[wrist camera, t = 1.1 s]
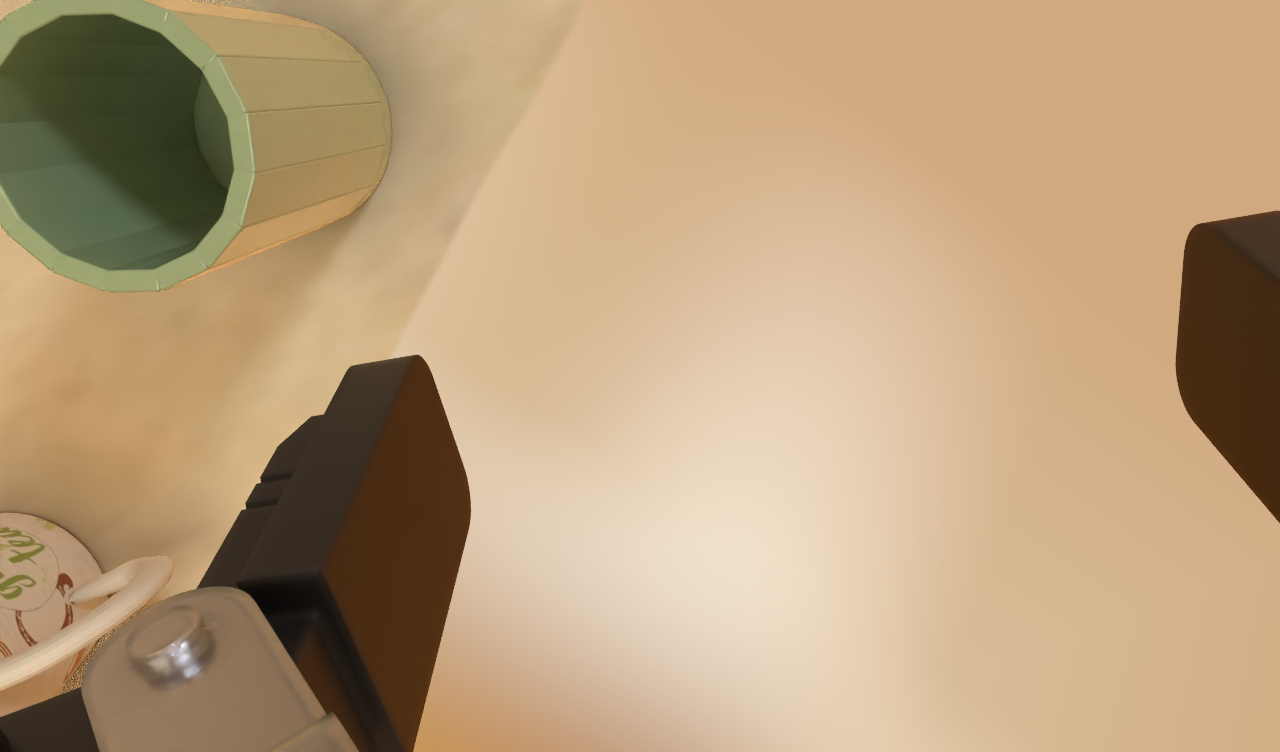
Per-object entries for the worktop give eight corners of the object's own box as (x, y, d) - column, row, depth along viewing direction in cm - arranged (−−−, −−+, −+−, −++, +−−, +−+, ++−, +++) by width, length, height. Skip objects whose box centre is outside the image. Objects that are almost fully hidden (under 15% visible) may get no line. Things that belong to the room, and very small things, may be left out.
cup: (153, 72, 31) (-96, 68, 21) (330, -20, 30) (154, -66, 20) (255, 258, 32) (66, 336, 22) (427, 178, 31) (307, 223, 21)
